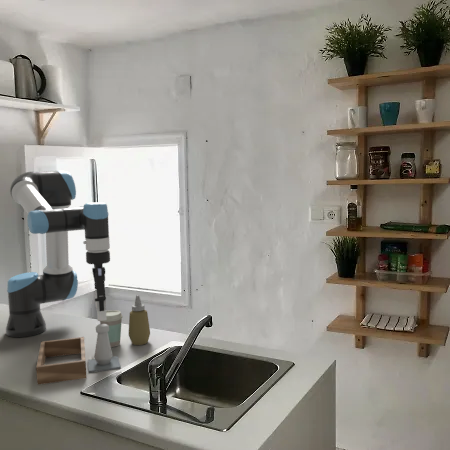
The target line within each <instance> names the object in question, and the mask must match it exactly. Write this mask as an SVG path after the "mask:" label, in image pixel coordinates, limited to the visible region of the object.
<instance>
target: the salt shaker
mask: <svg viewBox="0 0 450 450" xmlns="http://www.w3.org/2000/svg"><path fill="white" fill-rule="evenodd" d="M108 331H109V326H108V325H107V324H98V325H96V326H95V333H97V335H96V336H97V337H96V344H95V351H94V359H95V360H96V361H97V363H98V364H99V365H107V364H109V363H110V361H111V359H112V357H113V351H112V347H111V346H110V342H109V337H108V333H107V332H108Z"/></svg>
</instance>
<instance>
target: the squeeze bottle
mask: <svg viewBox="0 0 450 450" xmlns="http://www.w3.org/2000/svg"><path fill="white" fill-rule="evenodd" d="M150 336H151V328H150V321H149V315H148V311H147V310H146V309H145V304H144V303H142V300H141V297H140V295H139V294H138V295H136V296H135V300H134V304H132V305H131V311H130V312H129V321H128V338H129V340H130V342H131V344H132V345H134V346H143V345H146V344H148V342H149V339H150Z"/></svg>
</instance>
